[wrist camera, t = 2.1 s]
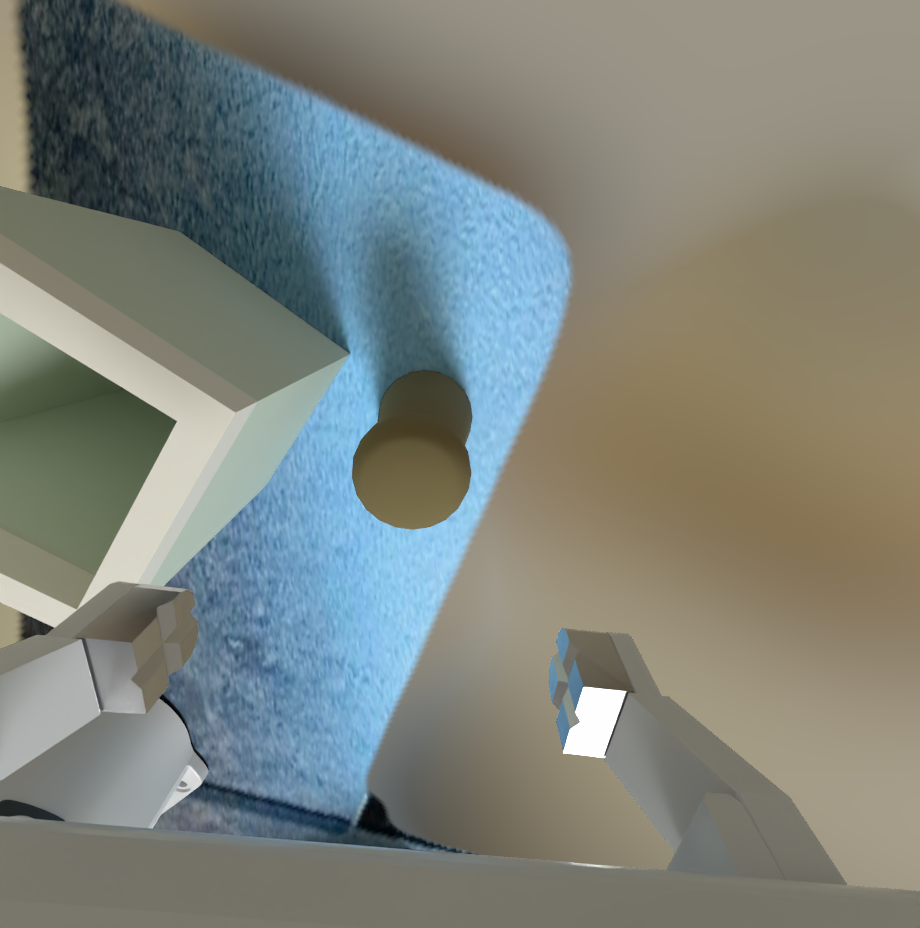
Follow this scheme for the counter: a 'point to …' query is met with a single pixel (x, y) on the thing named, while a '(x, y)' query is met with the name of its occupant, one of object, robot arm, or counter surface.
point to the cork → (416, 452)
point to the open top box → (132, 400)
